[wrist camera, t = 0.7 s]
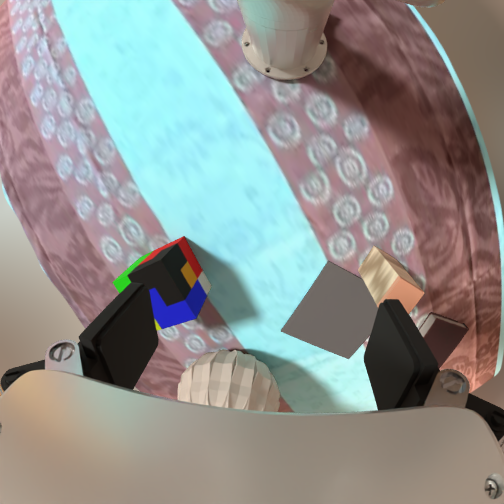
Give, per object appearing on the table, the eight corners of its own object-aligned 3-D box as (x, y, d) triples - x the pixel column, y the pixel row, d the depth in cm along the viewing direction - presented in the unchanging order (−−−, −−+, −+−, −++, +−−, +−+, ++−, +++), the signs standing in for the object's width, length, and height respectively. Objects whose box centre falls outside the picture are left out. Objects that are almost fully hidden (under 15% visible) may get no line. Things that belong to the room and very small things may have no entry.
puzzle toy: (211, 286, 48) (196, 318, 39) (167, 302, 51) (146, 333, 41) (184, 236, 45) (160, 259, 36) (140, 257, 48) (112, 282, 38)
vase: (292, 344, 51) (291, 490, 23) (271, 404, 59) (260, 517, 31) (190, 324, 52) (128, 456, 24) (188, 387, 59) (150, 494, 32)
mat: (328, 260, 44) (328, 261, 44) (397, 298, 45) (397, 299, 45) (280, 330, 50) (280, 331, 50) (348, 358, 51) (348, 358, 51)
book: (464, 322, 47) (470, 330, 44) (417, 382, 54) (421, 391, 51) (430, 309, 46) (436, 318, 43) (381, 376, 53) (384, 386, 50)
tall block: (373, 245, 42) (400, 278, 31) (395, 258, 43) (424, 293, 32) (357, 270, 44) (378, 308, 33) (379, 282, 45) (403, 321, 34)
